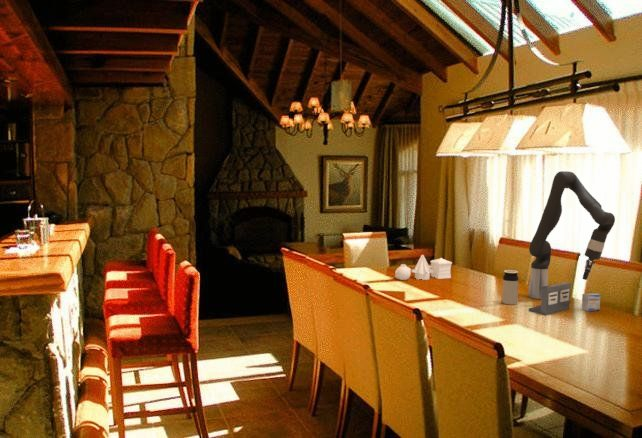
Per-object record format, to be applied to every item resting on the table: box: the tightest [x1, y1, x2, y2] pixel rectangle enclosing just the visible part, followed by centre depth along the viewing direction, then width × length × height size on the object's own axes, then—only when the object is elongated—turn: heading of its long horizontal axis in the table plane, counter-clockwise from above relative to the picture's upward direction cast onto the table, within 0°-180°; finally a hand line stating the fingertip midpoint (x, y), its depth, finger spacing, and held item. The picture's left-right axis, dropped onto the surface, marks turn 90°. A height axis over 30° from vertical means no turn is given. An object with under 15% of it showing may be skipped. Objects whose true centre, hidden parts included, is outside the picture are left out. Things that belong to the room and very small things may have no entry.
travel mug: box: [501, 269, 519, 306], centre depth 326 cm, size 8×8×18 cm
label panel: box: [528, 281, 572, 316], centre depth 311 cm, size 10×22×14 cm, turn 127°
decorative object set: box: [394, 254, 453, 281], centre depth 398 cm, size 40×18×16 cm, turn 111°
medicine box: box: [581, 292, 601, 312], centre depth 313 cm, size 8×4×9 cm, turn 107°
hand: (584, 278), depth 310 cm, fingers open, 8 cm apart
